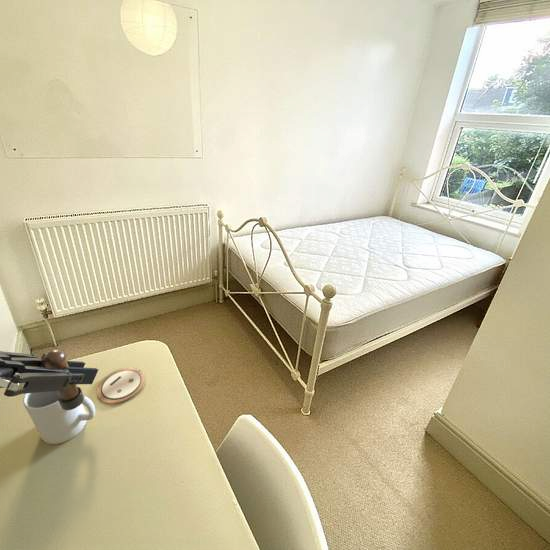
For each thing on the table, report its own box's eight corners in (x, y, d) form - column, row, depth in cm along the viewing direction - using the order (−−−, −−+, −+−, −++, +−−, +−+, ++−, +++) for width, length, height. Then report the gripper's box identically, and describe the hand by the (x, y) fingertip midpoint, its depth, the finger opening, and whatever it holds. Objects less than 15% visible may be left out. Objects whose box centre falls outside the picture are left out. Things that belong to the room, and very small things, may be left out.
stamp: (56, 405, 55) (32, 355, 49) (75, 390, 58) (55, 342, 52) (70, 413, 54) (47, 363, 48) (88, 398, 56) (69, 348, 51)
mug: (31, 444, 63) (11, 408, 58) (57, 408, 70) (41, 374, 65) (90, 445, 63) (75, 410, 58) (110, 409, 71) (98, 375, 65)
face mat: (86, 393, 74) (86, 391, 74) (123, 363, 83) (123, 361, 83) (119, 410, 70) (119, 409, 70) (155, 377, 79) (154, 375, 79)
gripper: (-131, 376, 38) (50, 377, 59) (-65, 429, 32) (108, 410, 53) (-95, 317, 39) (68, 340, 61) (-27, 359, 34) (127, 367, 55)
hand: (87, 372), depth 57 cm, fingers closed on stamp, 3 cm apart
